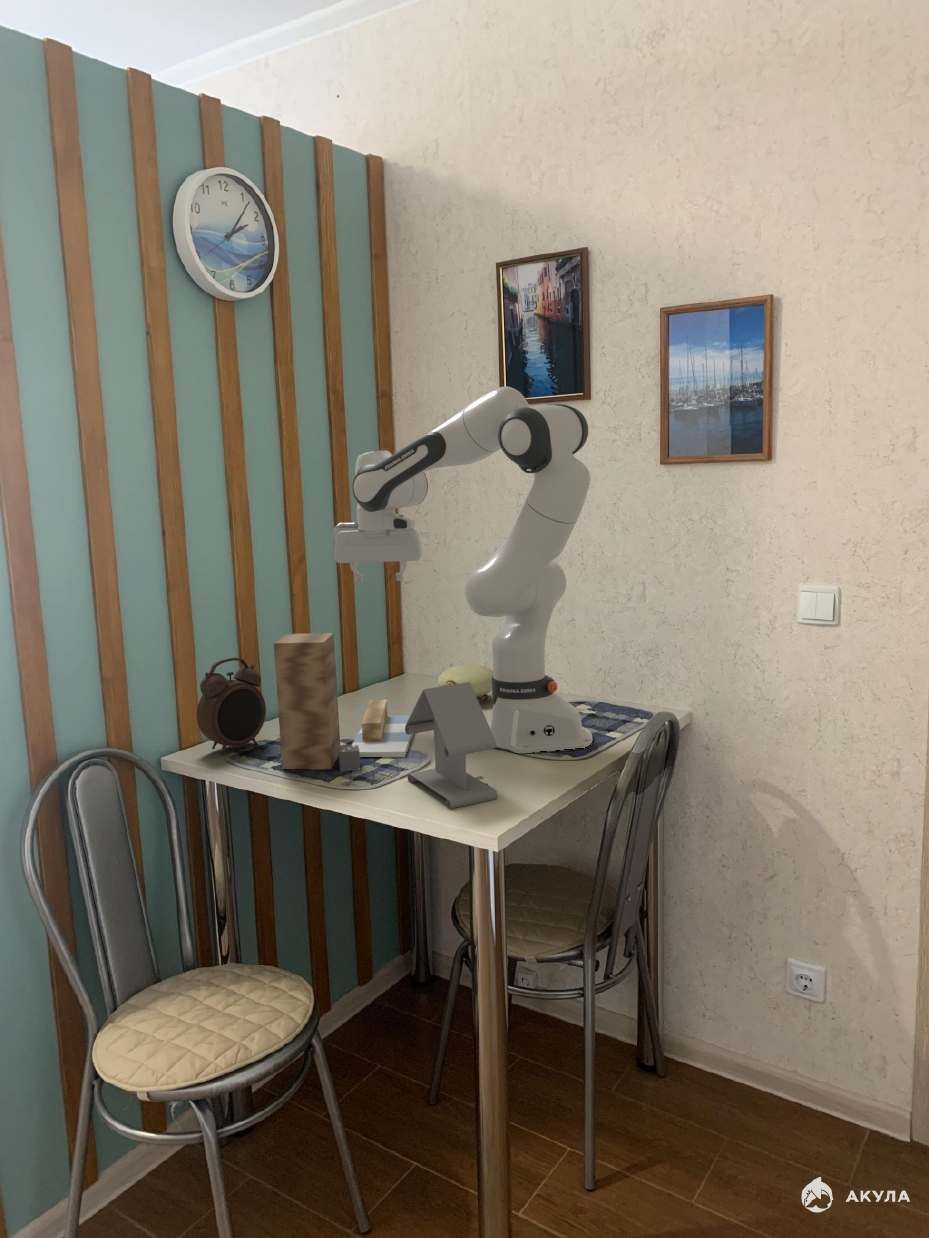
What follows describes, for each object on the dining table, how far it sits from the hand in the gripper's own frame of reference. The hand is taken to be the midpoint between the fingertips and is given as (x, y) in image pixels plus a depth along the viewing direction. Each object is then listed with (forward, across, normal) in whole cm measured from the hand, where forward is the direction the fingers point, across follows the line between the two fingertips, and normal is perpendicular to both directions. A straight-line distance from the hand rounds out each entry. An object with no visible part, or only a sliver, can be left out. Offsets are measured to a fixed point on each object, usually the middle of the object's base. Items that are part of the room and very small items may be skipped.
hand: (379, 581), depth 219 cm
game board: (+33, +2, -16) cm, 37 cm away
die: (+33, -2, -36) cm, 49 cm away
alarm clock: (+33, -30, -22) cm, 50 cm away
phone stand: (+34, +19, -50) cm, 63 cm away
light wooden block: (+32, -1, -12) cm, 34 cm away
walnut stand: (+33, -11, -32) cm, 47 cm away
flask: (+33, +18, +14) cm, 40 cm away
